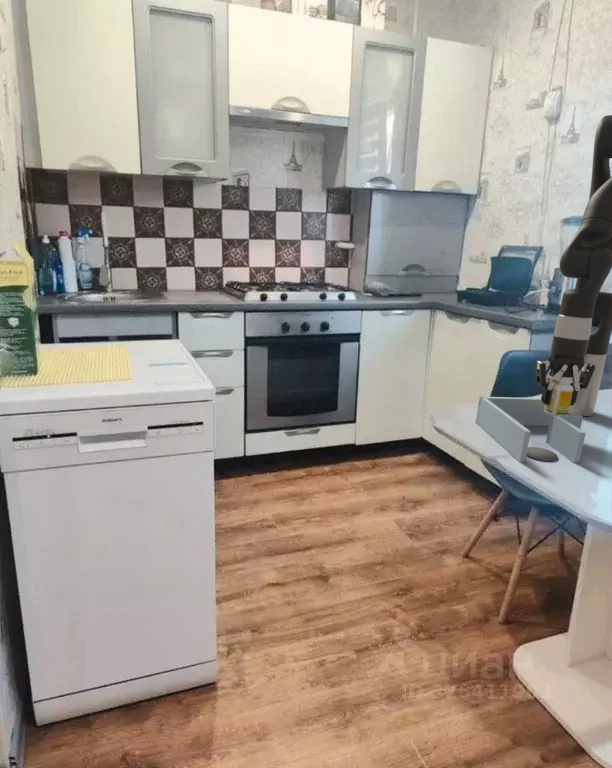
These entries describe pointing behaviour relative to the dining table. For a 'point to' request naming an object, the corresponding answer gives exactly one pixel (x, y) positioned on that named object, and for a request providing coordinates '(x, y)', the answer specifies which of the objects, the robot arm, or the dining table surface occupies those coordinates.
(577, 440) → the channel
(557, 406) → the supplement bottle
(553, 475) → the dining table surface
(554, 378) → the robot arm
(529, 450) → the pad
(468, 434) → the dining table surface
